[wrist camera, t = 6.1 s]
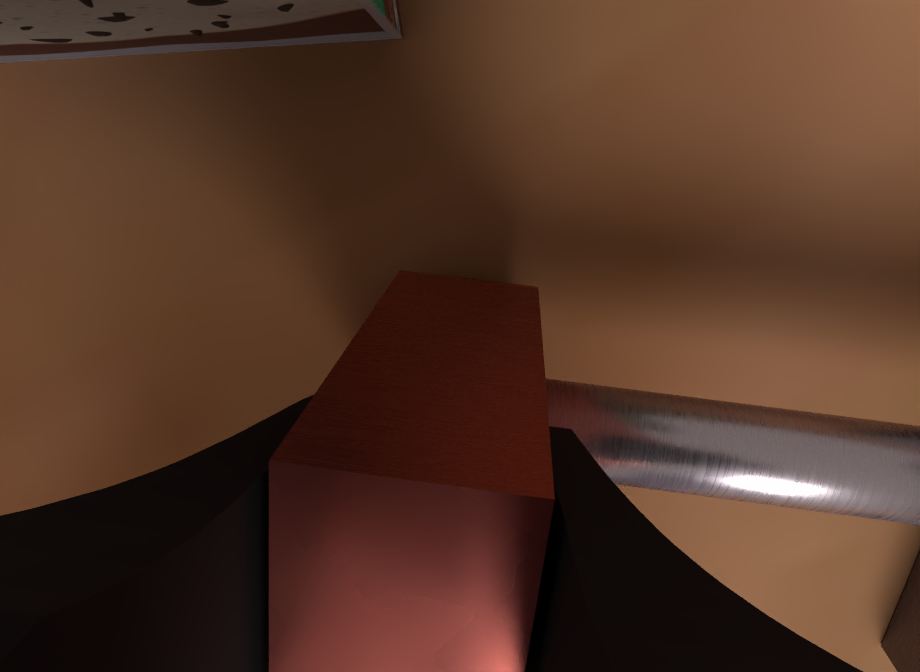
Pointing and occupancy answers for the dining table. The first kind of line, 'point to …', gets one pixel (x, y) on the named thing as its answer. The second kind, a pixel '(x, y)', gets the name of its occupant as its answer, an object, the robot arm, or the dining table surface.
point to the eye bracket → (906, 627)
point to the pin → (503, 479)
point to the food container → (184, 25)
